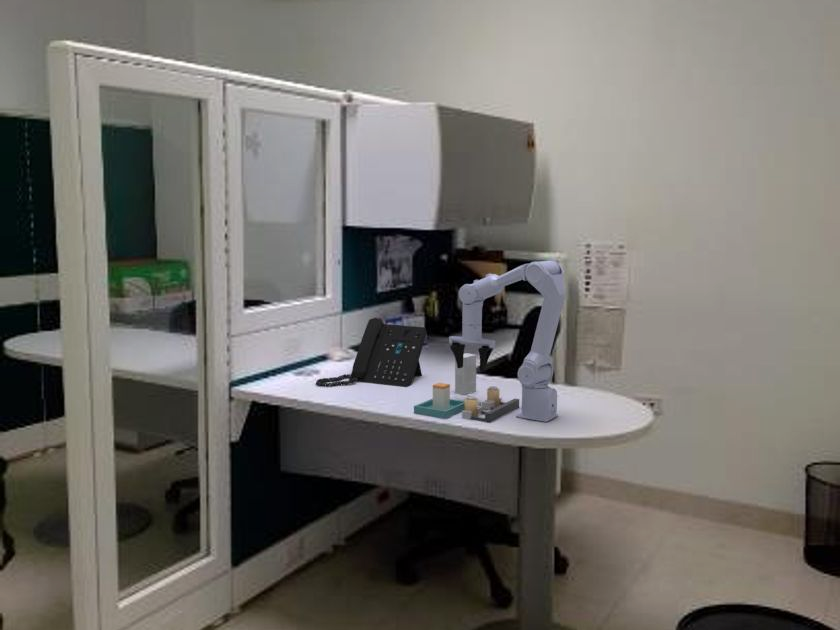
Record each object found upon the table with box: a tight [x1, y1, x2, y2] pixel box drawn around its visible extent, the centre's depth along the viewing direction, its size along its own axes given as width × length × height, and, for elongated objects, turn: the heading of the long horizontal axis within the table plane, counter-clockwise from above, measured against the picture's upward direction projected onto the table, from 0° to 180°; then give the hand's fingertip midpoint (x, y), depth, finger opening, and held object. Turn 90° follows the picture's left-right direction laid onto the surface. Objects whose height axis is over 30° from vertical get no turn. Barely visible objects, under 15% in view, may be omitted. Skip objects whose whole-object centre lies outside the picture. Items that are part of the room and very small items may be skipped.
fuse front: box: [464, 395, 479, 417], centre depth 224 cm, size 4×4×6 cm
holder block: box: [461, 397, 520, 424], centre depth 228 cm, size 9×19×2 cm, turn 148°
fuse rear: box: [486, 386, 501, 407], centre depth 235 cm, size 4×4×6 cm
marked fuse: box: [432, 382, 451, 410], centre depth 229 cm, size 4×4×7 cm
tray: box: [413, 398, 465, 420], centre depth 230 cm, size 11×13×2 cm
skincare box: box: [454, 352, 477, 396], centre depth 251 cm, size 6×4×12 cm
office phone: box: [315, 317, 428, 388], centre depth 266 cm, size 29×28×20 cm
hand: (471, 369), depth 237 cm, fingers open, 7 cm apart
